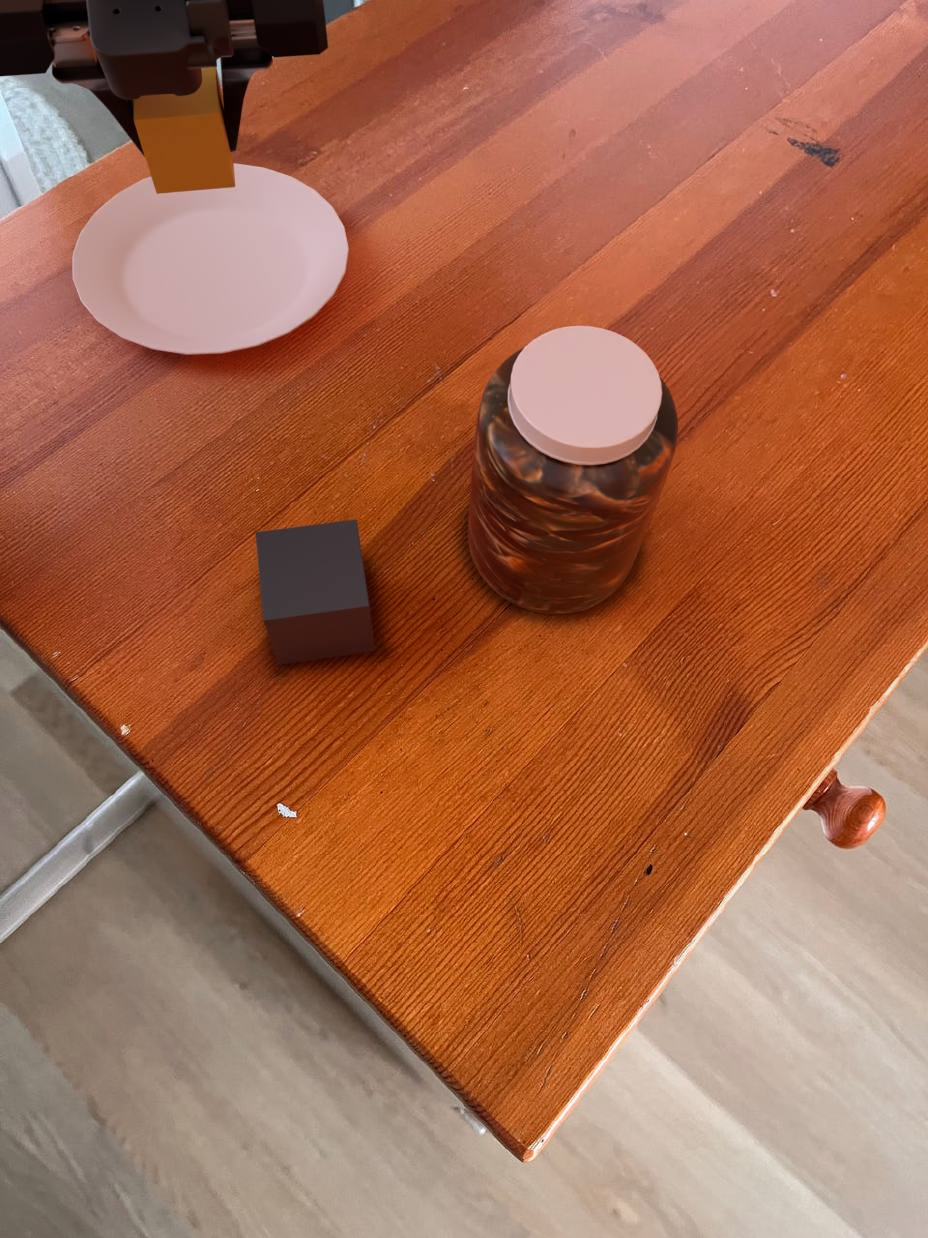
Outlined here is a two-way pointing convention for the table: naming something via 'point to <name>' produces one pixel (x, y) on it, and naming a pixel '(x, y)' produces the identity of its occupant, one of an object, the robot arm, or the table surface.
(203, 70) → the top block
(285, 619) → the base block
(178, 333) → the plate
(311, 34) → the robot arm
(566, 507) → the jar
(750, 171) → the table surface
